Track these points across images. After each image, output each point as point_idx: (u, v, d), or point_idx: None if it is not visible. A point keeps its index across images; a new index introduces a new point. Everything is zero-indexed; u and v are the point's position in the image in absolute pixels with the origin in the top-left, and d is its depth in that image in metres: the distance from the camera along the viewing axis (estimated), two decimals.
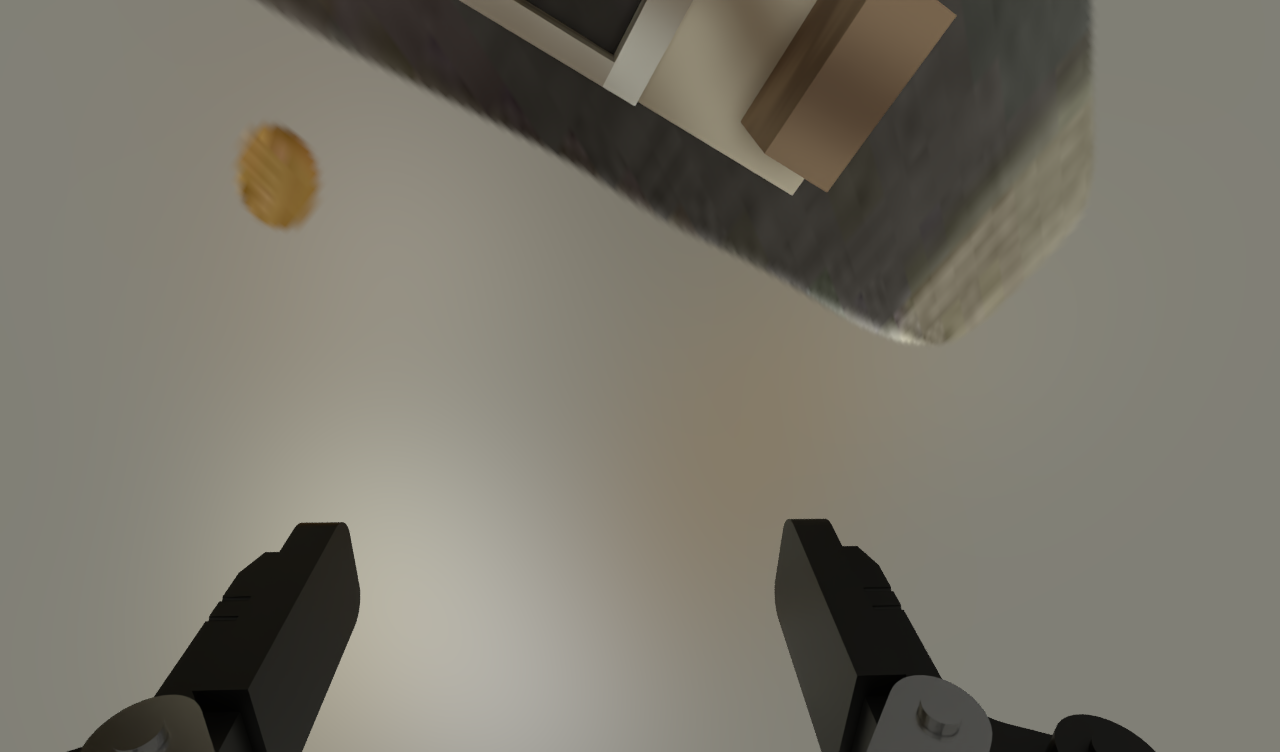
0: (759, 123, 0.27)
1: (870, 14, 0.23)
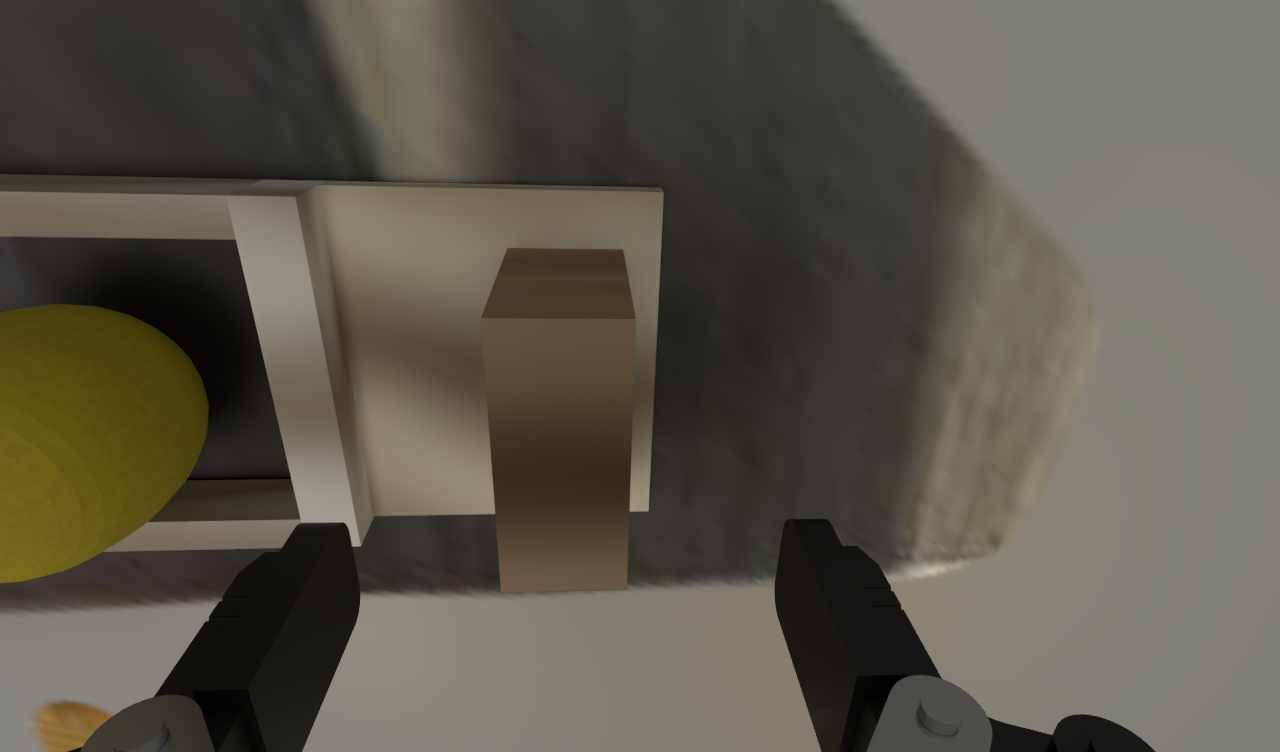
0: None
1: (505, 386, 0.14)
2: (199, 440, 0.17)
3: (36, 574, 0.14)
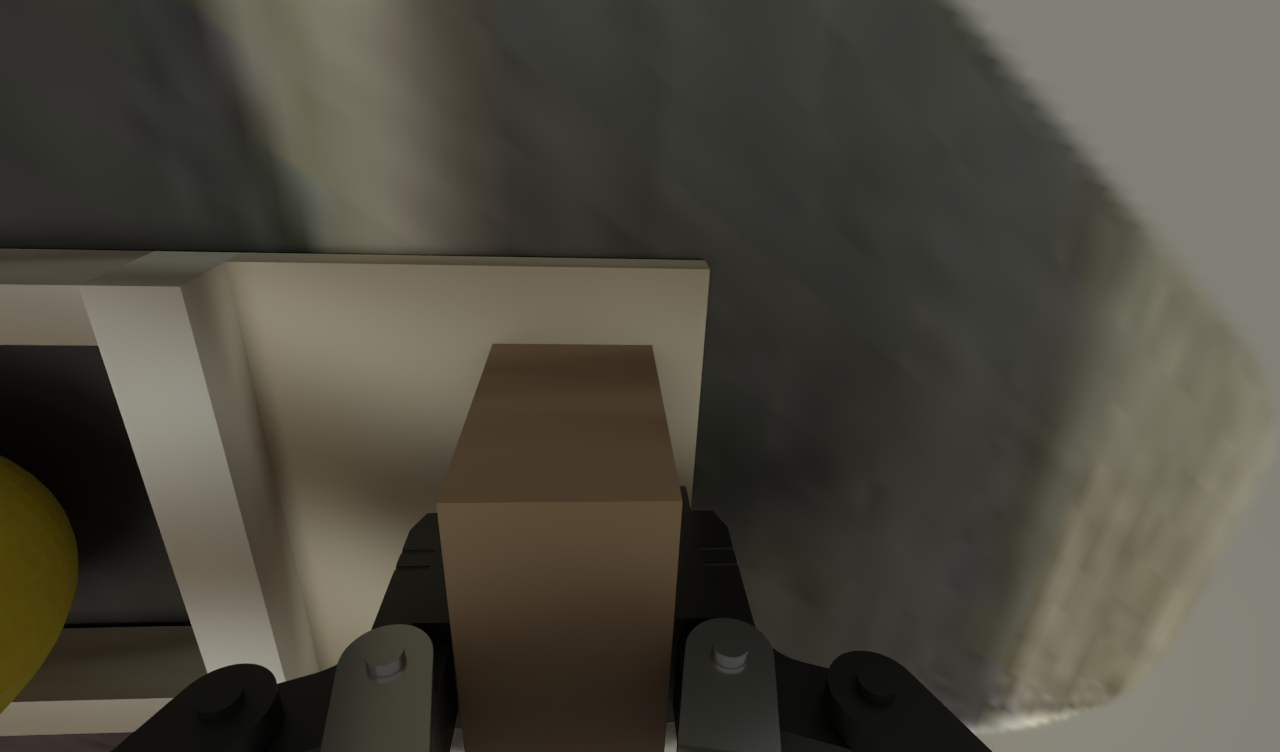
0: None
1: (478, 595, 0.09)
2: (52, 620, 0.12)
3: None
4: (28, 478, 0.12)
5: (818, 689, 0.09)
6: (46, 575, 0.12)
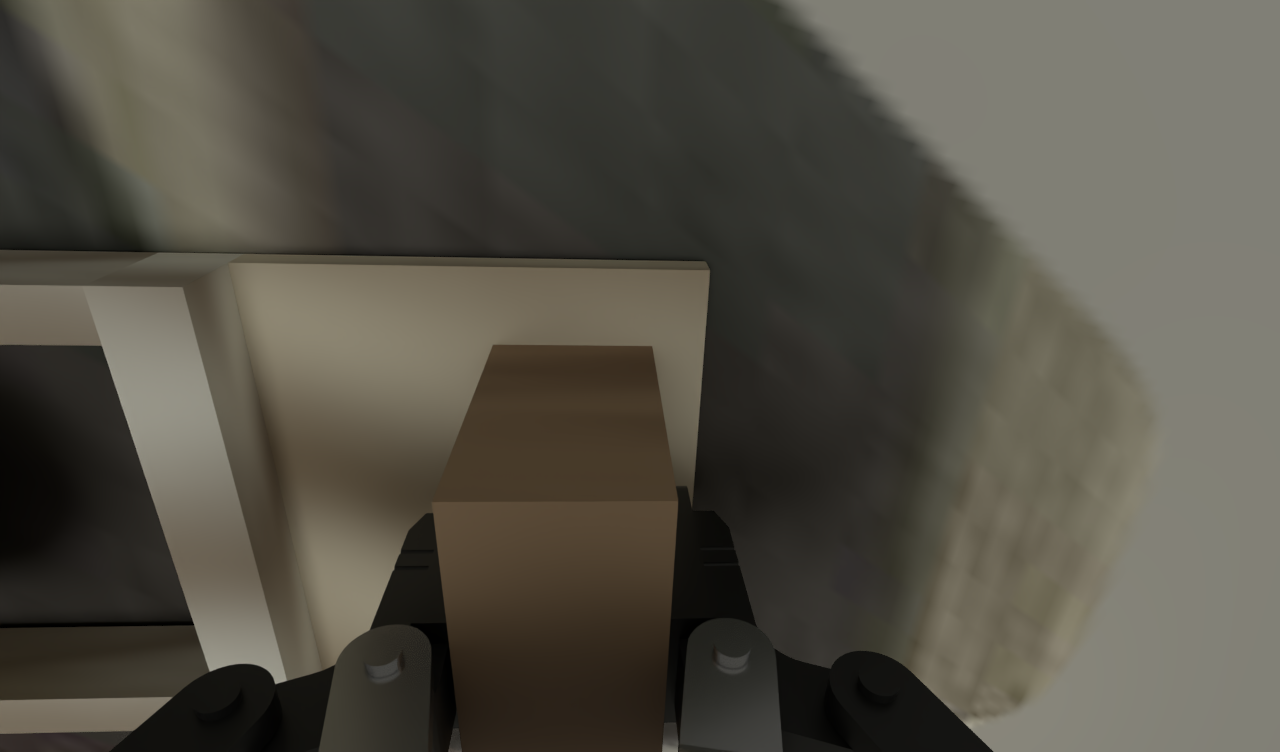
0: None
1: (474, 594, 0.09)
2: None
3: None
4: None
5: (820, 689, 0.09)
6: None
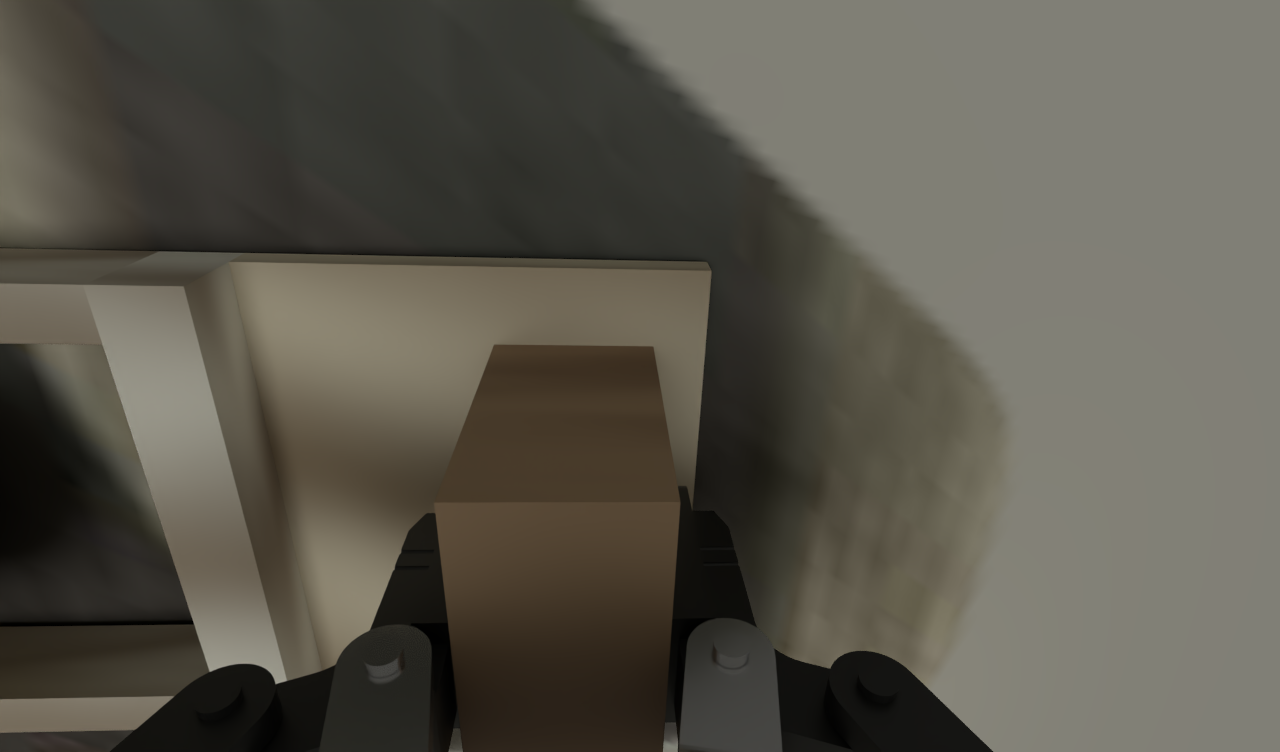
0: None
1: (476, 595, 0.09)
2: None
3: None
4: None
5: (819, 689, 0.09)
6: None
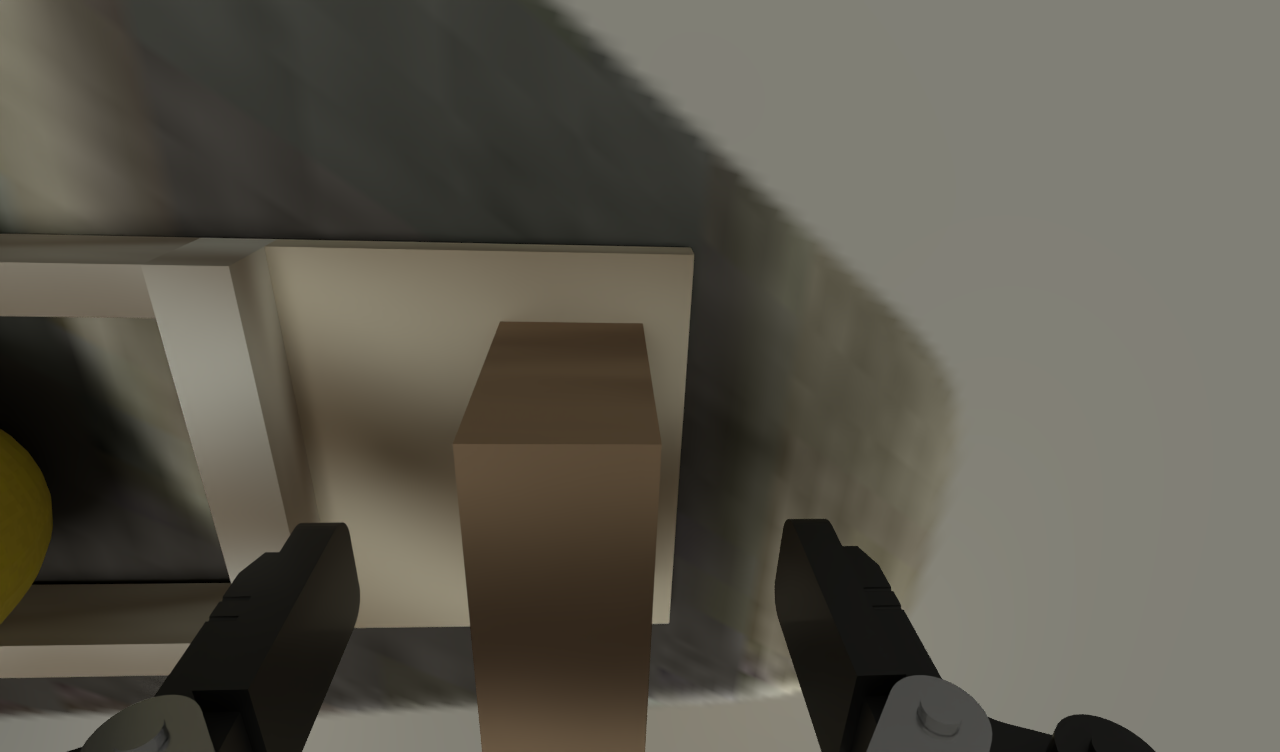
0: None
1: (487, 527, 0.10)
2: (26, 564, 0.13)
3: None
4: (7, 438, 0.14)
5: None
6: (20, 522, 0.13)
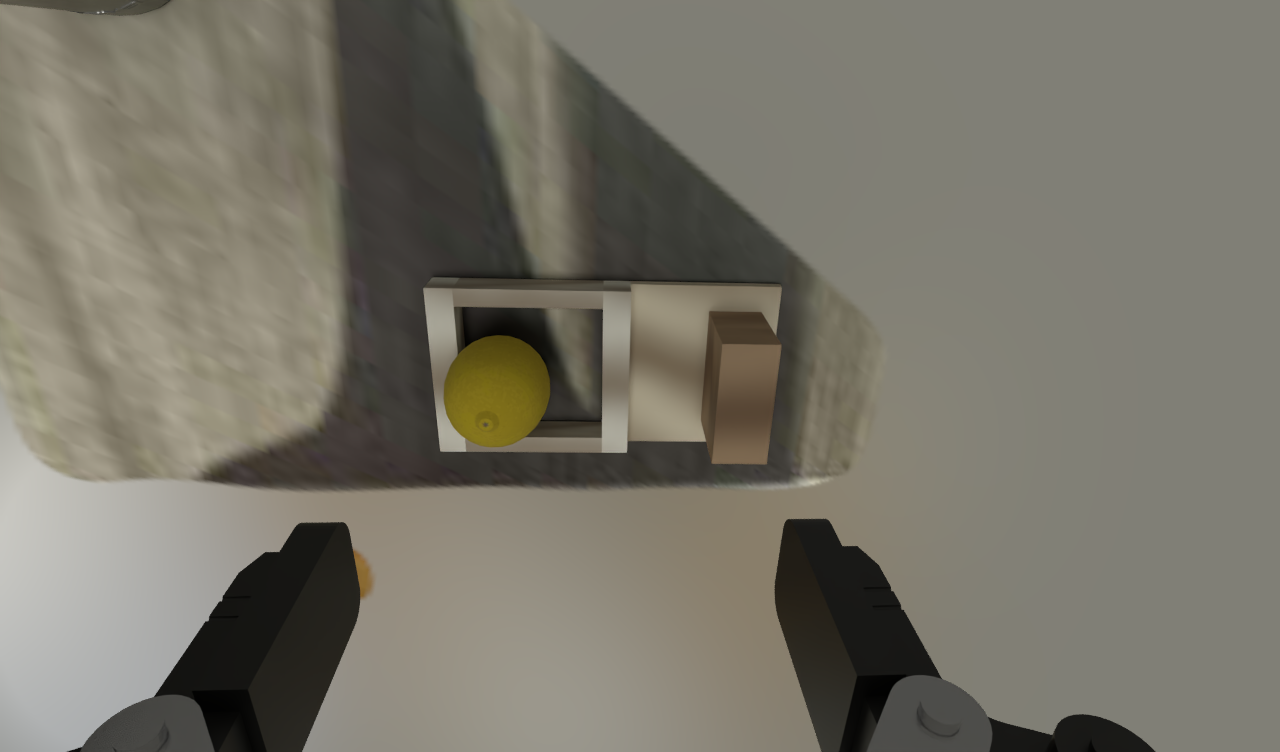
0: (706, 431, 0.39)
1: (727, 371, 0.35)
2: None
3: (509, 443, 0.35)
4: None
5: None
6: None
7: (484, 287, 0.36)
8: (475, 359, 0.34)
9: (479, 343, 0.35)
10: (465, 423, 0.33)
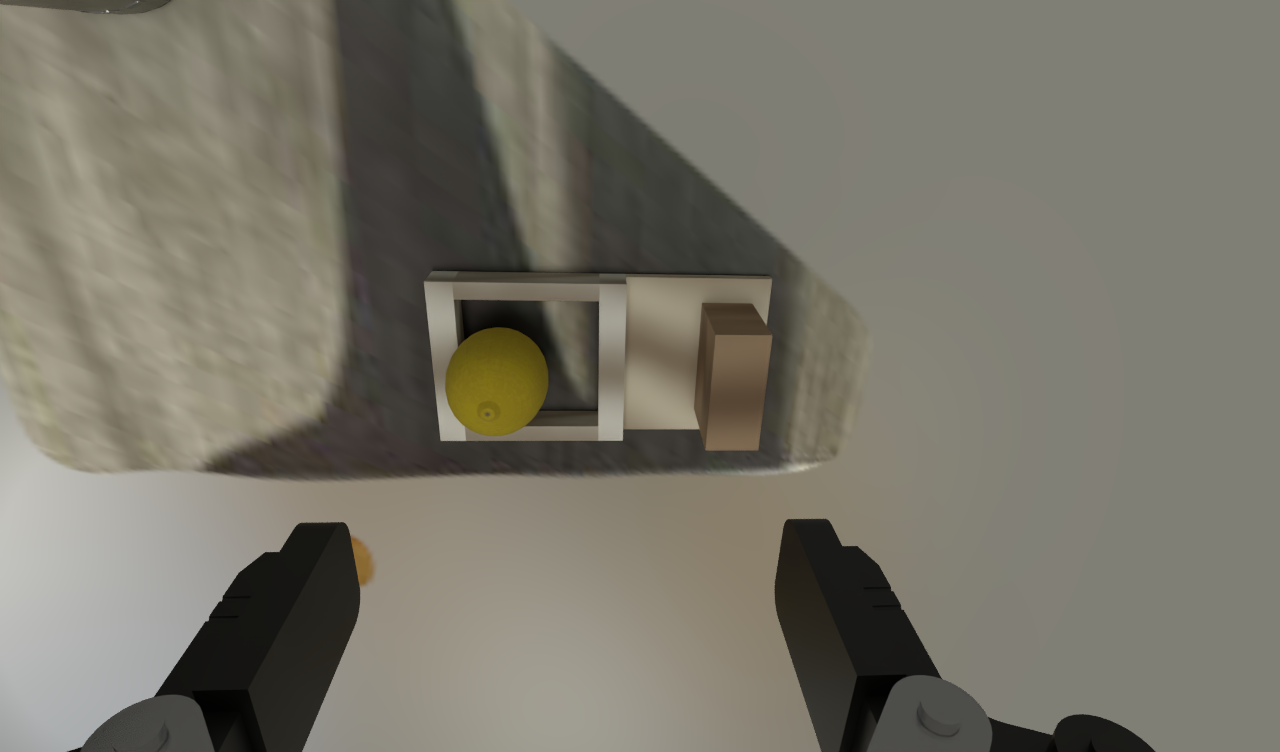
0: (699, 419, 0.40)
1: (720, 360, 0.36)
2: None
3: (510, 432, 0.36)
4: None
5: None
6: None
7: (483, 280, 0.37)
8: (477, 351, 0.35)
9: (479, 335, 0.36)
10: (467, 413, 0.34)
